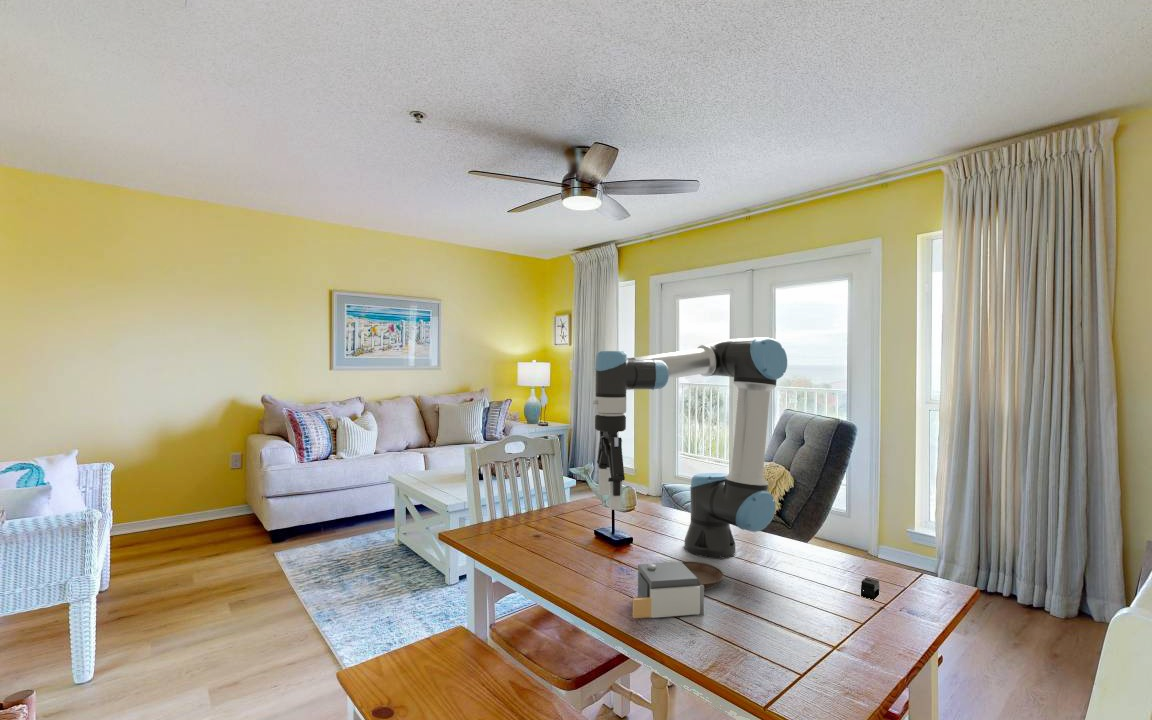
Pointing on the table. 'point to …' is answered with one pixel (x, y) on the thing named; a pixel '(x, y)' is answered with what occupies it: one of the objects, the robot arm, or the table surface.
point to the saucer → (705, 573)
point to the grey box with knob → (664, 577)
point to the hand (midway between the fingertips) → (609, 501)
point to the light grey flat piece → (670, 602)
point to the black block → (870, 588)
